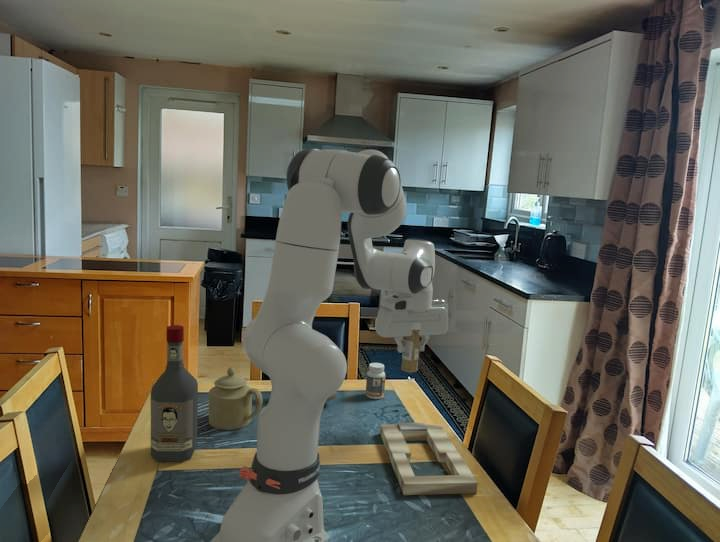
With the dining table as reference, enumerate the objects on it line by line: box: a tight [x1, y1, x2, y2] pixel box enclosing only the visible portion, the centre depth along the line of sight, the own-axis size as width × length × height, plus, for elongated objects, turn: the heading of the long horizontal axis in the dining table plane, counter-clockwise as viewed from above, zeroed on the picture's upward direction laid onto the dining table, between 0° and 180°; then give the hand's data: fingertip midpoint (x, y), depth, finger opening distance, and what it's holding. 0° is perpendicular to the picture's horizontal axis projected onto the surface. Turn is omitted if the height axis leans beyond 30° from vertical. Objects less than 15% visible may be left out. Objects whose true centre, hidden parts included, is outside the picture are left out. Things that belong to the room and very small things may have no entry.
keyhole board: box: [379, 422, 478, 496], centre depth 128 cm, size 28×16×3 cm, turn 8°
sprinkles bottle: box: [400, 323, 421, 373], centre depth 143 cm, size 5×5×13 cm
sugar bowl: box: [208, 366, 264, 431], centre depth 141 cm, size 15×11×15 cm
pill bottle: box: [365, 362, 386, 400], centre depth 165 cm, size 6×6×10 cm
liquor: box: [150, 324, 199, 464], centre depth 122 cm, size 9×9×30 cm
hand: (410, 351), depth 143 cm, fingers closed on sprinkles bottle, 4 cm apart
